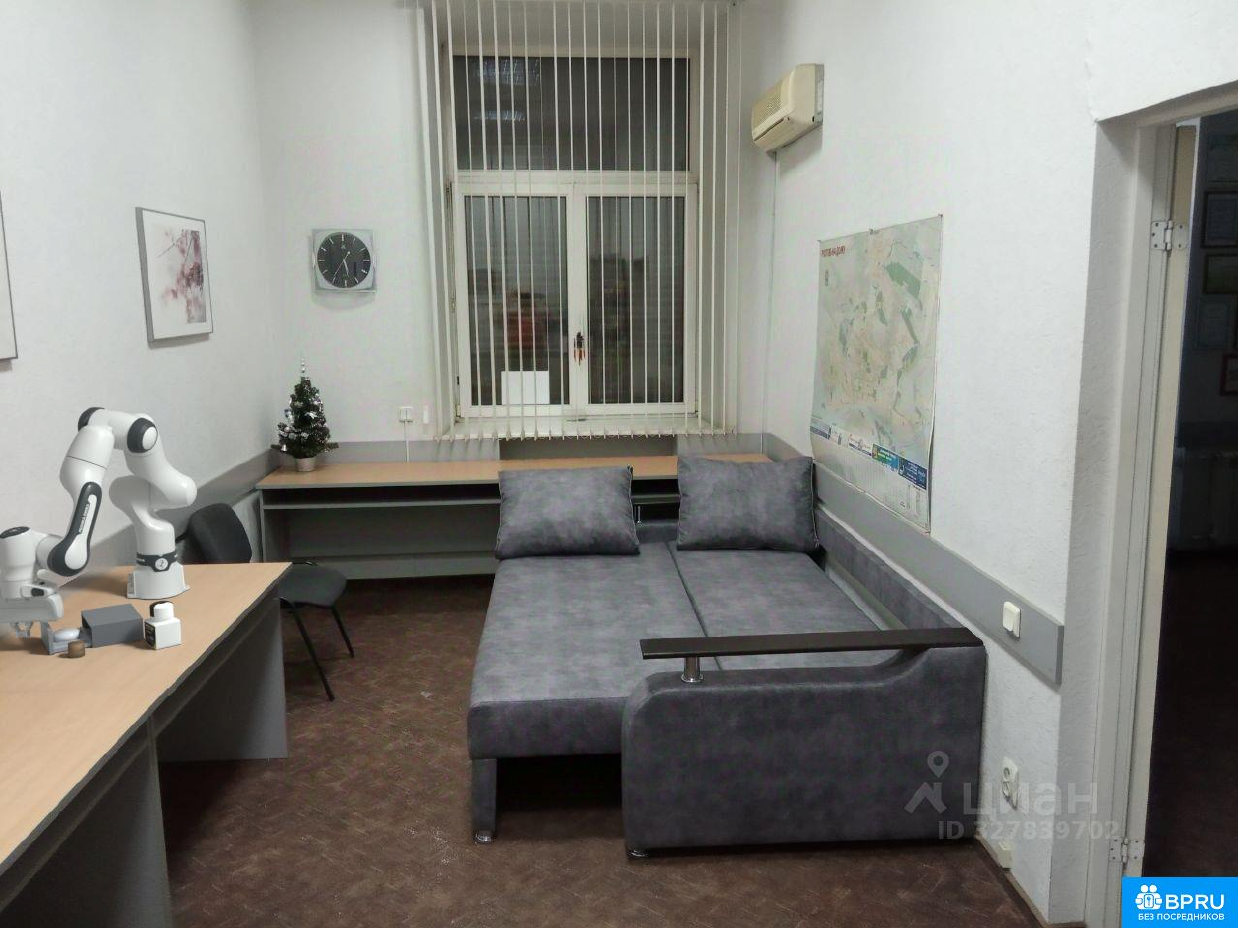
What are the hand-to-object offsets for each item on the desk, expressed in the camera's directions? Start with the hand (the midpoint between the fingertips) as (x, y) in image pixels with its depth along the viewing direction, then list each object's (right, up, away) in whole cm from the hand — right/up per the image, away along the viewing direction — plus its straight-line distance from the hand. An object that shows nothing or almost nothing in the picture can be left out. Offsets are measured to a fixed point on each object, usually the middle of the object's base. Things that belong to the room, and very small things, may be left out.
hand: (23, 636), depth 270 cm
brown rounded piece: (+16, -5, -2) cm, 17 cm away
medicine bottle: (+34, -4, +8) cm, 35 cm away
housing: (+17, -2, +14) cm, 22 cm away
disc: (+8, -2, +7) cm, 11 cm away
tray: (+9, -3, +8) cm, 12 cm away
